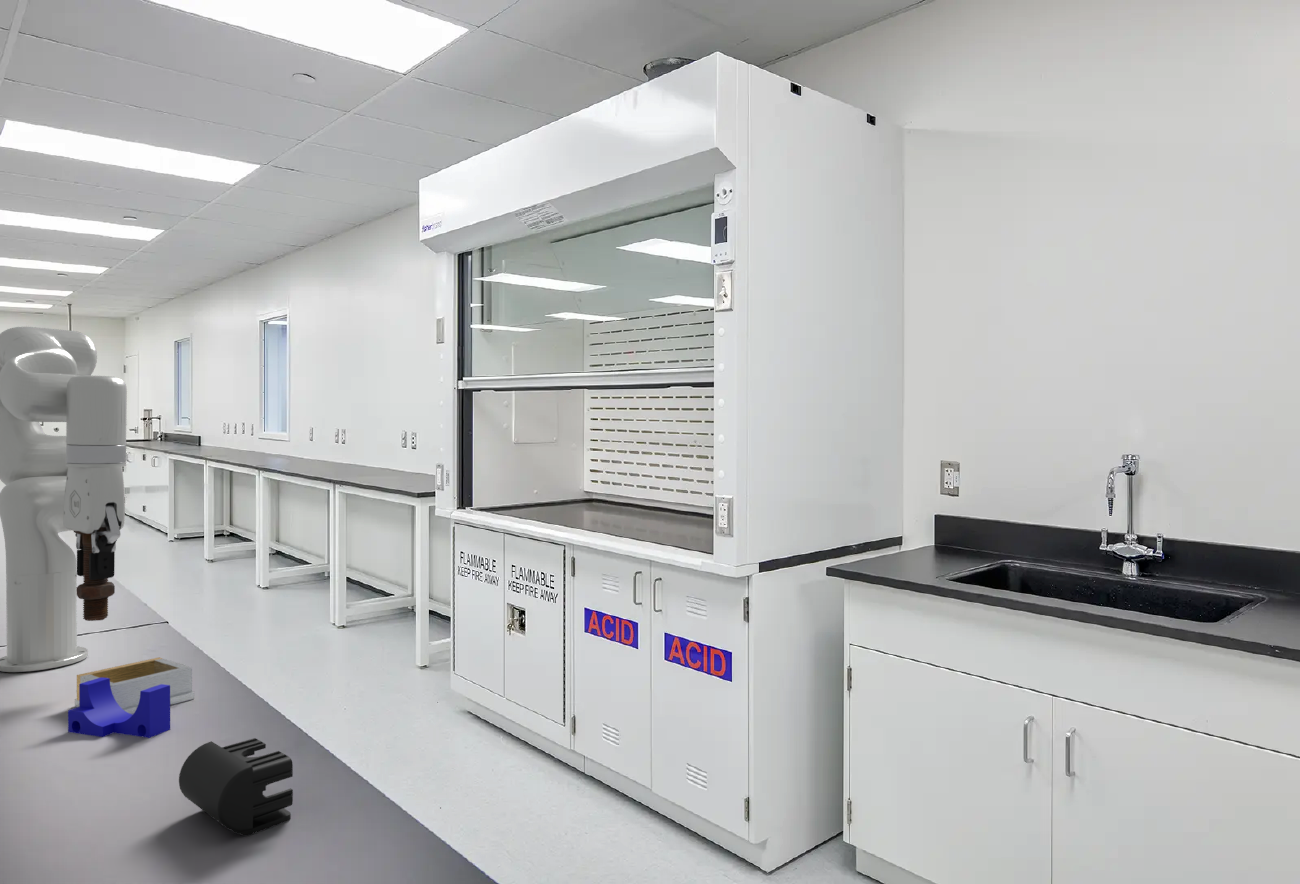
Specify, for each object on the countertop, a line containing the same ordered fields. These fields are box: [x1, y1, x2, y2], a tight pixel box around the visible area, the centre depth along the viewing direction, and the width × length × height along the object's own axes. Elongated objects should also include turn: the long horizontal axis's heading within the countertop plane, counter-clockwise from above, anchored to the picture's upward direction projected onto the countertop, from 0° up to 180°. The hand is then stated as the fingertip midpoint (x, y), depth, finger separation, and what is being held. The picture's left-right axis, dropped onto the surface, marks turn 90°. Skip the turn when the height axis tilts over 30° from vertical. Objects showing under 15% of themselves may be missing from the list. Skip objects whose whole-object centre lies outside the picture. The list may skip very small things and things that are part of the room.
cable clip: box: [67, 677, 171, 739], centre depth 103 cm, size 12×4×6 cm, turn 73°
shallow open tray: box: [74, 657, 195, 715], centre depth 114 cm, size 11×11×4 cm
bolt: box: [73, 527, 115, 622], centre depth 121 cm, size 6×5×15 cm
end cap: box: [178, 737, 294, 837], centre depth 79 cm, size 10×7×7 cm
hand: (95, 575), depth 121 cm, fingers closed on bolt, 3 cm apart
